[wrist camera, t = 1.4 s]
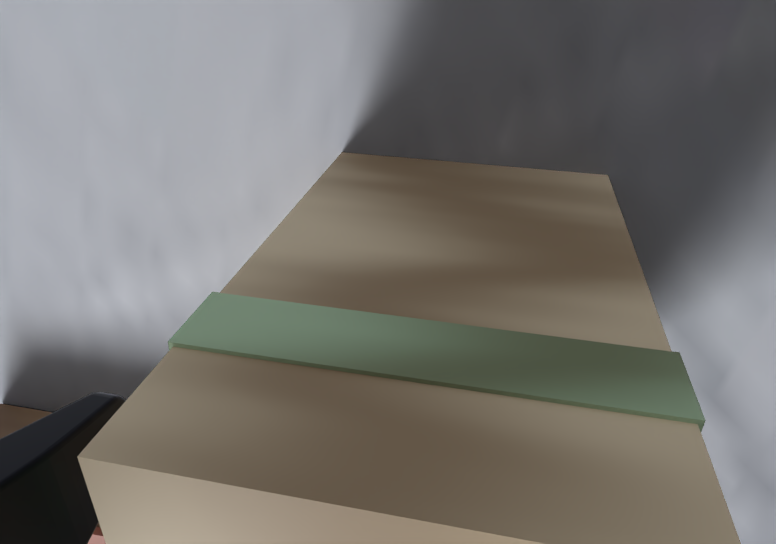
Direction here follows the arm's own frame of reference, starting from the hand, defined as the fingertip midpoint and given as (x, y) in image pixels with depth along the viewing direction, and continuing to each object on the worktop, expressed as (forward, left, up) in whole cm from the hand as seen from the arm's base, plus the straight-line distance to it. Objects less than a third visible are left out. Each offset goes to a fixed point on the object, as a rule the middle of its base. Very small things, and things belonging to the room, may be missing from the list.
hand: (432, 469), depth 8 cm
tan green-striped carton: (0, 0, -5) cm, 5 cm away
